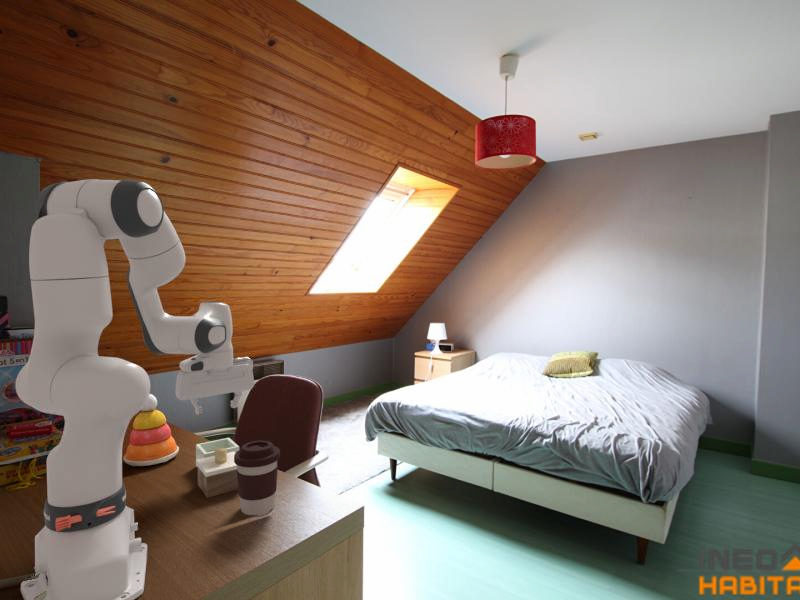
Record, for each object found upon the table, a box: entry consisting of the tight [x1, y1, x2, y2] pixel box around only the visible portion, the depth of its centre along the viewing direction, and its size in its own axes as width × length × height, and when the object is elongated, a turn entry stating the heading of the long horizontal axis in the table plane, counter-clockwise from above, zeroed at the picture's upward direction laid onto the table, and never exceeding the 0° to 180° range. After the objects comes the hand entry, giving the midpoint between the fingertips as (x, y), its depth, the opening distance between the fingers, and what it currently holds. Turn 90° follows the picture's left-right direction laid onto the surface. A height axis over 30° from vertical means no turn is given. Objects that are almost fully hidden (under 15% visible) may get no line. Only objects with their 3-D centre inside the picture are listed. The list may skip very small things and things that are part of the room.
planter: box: [195, 437, 240, 468], centre depth 124 cm, size 9×9×7 cm
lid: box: [195, 448, 238, 477], centre depth 113 cm, size 10×10×5 cm
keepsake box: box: [196, 466, 238, 499], centre depth 113 cm, size 9×9×6 cm
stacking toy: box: [123, 393, 180, 467], centre depth 132 cm, size 14×14×20 cm
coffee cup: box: [234, 440, 281, 518], centre depth 102 cm, size 10×10×15 cm
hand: (217, 410), depth 124 cm, fingers open, 8 cm apart
